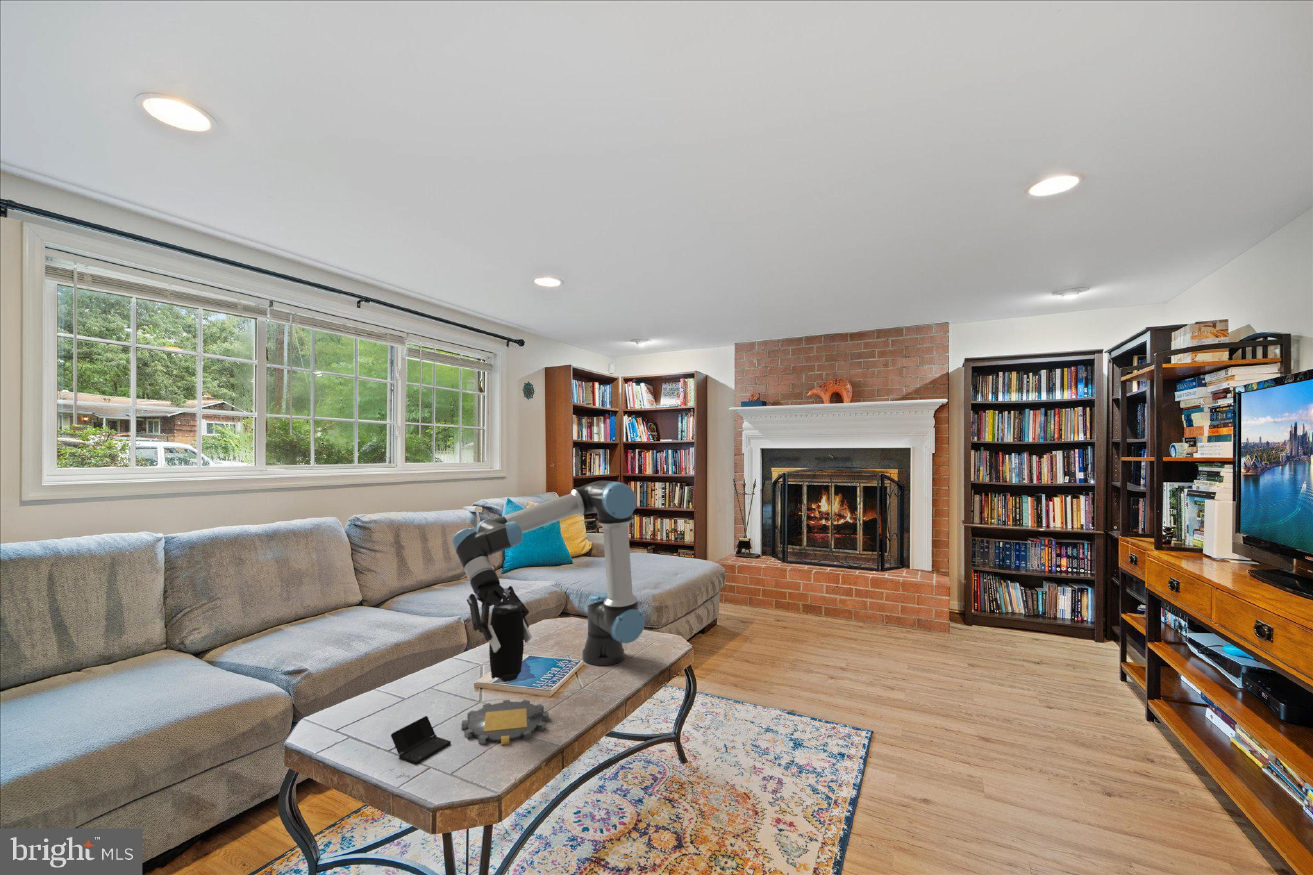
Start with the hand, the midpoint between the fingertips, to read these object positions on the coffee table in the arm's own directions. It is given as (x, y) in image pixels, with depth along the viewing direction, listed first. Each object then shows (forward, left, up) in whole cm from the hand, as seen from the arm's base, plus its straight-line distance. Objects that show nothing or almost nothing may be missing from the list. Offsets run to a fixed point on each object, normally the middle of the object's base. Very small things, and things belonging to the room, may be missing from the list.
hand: (513, 644), depth 153 cm
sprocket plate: (-1, -4, -23) cm, 23 cm away
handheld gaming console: (+21, -8, -23) cm, 32 cm away
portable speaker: (0, -3, -10) cm, 10 cm away
